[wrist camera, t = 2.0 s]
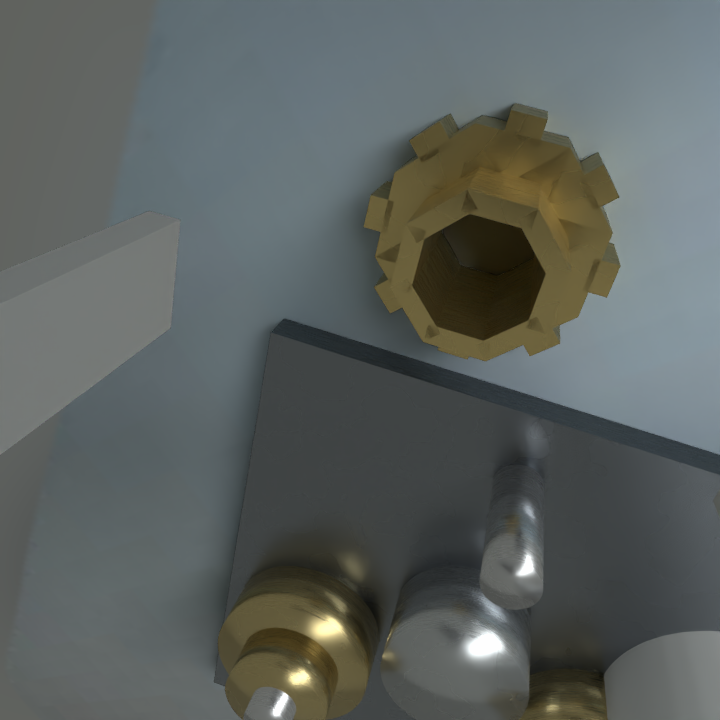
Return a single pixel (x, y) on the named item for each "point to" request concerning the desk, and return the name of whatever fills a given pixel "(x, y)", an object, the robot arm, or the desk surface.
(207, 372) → the desk surface
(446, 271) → the gear
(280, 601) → the plate
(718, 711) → the cylinder container
